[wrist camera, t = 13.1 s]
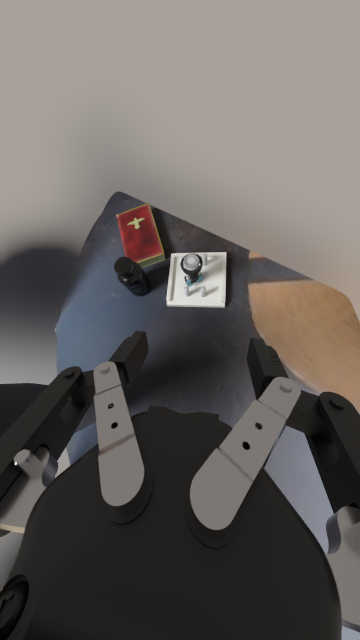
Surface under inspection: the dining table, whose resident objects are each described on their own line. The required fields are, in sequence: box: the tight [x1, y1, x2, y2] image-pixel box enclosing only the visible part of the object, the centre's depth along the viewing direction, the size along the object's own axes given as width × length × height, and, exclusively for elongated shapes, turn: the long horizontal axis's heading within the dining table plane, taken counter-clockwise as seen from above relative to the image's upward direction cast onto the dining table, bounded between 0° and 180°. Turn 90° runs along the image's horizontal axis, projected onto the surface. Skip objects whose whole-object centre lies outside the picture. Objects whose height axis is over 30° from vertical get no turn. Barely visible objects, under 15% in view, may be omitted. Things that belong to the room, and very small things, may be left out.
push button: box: [180, 253, 207, 287], centre depth 45 cm, size 7×5×10 cm
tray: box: [166, 252, 226, 308], centre depth 48 cm, size 16×16×5 cm
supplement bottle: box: [114, 257, 151, 296], centre depth 47 cm, size 7×7×12 cm
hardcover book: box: [117, 203, 166, 268], centre depth 56 cm, size 12×21×4 cm, turn 16°
